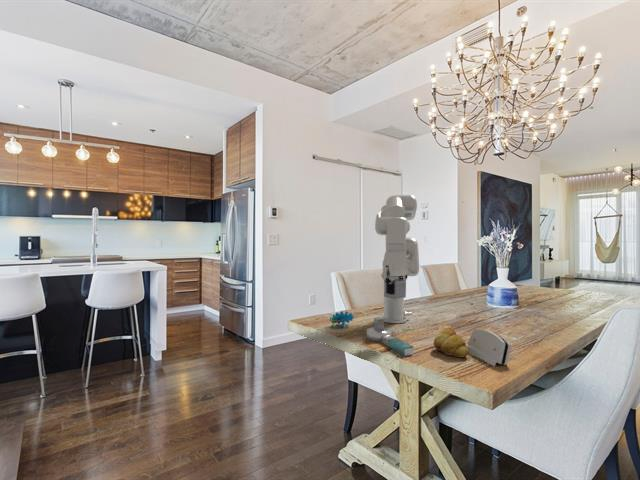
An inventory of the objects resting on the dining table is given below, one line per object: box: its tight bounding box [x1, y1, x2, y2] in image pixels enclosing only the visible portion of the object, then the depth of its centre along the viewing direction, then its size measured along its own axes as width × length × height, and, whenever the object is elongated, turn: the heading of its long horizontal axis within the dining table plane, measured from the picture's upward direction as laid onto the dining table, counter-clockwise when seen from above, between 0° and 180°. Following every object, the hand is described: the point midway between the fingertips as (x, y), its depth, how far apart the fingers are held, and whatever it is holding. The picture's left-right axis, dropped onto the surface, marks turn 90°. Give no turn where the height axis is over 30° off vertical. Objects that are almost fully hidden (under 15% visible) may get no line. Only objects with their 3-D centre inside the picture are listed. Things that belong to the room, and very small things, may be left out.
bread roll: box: [433, 327, 469, 358], centre depth 121 cm, size 13×10×8 cm
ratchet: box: [366, 316, 414, 357], centre depth 130 cm, size 10×26×8 cm, turn 20°
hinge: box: [466, 329, 512, 367], centre depth 117 cm, size 17×5×10 cm, turn 12°
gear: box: [329, 311, 354, 329], centre depth 154 cm, size 11×6×10 cm
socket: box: [383, 278, 407, 299], centre depth 135 cm, size 6×6×7 cm
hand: (395, 292), depth 135 cm, fingers closed on socket, 6 cm apart
